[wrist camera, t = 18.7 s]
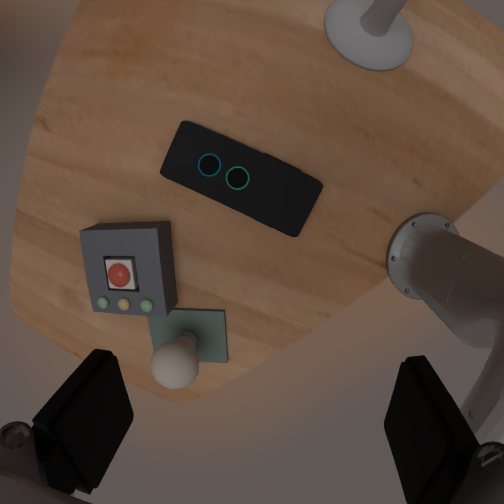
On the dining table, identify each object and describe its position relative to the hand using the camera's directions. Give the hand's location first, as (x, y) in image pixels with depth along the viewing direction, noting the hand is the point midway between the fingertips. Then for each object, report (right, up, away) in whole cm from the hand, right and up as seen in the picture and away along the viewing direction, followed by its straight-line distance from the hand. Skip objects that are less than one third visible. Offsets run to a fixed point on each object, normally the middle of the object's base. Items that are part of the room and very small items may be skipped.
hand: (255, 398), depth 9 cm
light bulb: (-10, -8, +37) cm, 39 cm away
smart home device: (-2, +14, +32) cm, 35 cm away
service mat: (-10, -8, +38) cm, 40 cm away
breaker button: (-17, +2, +33) cm, 37 cm away
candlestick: (+16, +35, +24) cm, 45 cm away
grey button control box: (-17, +3, +35) cm, 39 cm away
